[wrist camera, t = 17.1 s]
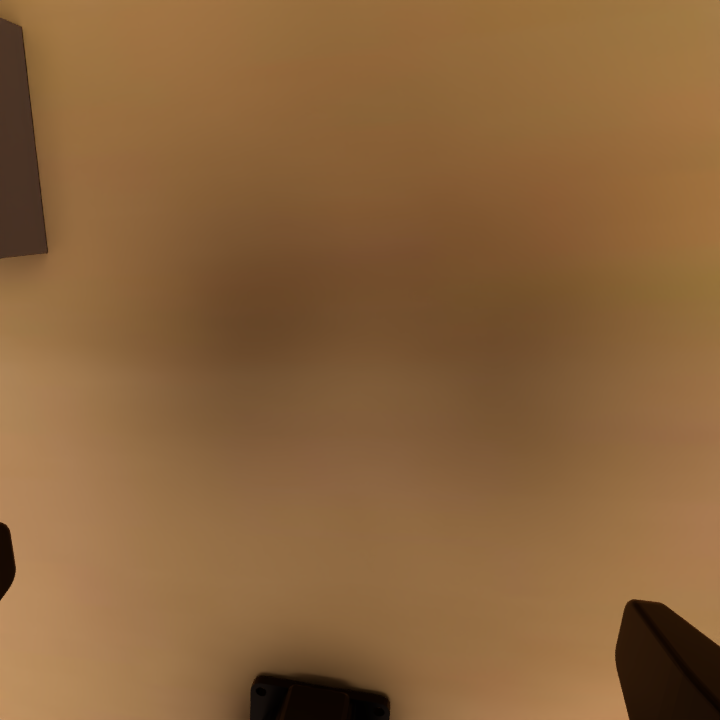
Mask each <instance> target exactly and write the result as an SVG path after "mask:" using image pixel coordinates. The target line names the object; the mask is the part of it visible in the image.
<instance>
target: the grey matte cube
mask: <svg viewBox="0 0 720 720" xmlns="http://www.w3.org/2000/svg"><path fill="white" fill-rule="evenodd" d="M41 253H47V245H46V237H45V228H44V219H43V211H42V202H41V193H40V185H39V176H38V167H37V159H36V150H35V141H34V133H33V124H32V116H31V107H30V98H29V90H28V81H27V72H26V64H25V55H24V46H23V38H22V29H21V27H20V26H18V25H16V24H14V23H11V22H9V21H7V20H5V19H2V18H0V258H6V257H15V256H24V255H33V254H41Z"/></svg>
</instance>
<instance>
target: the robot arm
mask: <svg viewBox="0 0 720 720" xmlns="http://www.w3.org/2000/svg"><path fill="white" fill-rule="evenodd" d="M15 572H16V566H15V559H14V553H13V546H12V540H11V533H10V530H9V528H8V527H7V525H6V524H4V523H1V522H0V600H1V599H2V598H3V596H4V595H5V593H6V592H7V591H8V589H9V588H10V586H11V584H12V582H13V580H14V577H15ZM615 661H616V668H617V672H618V676H619V680H620V684H621V688H622V692H623V696H624V700H625V704H626V708H627V712H628V716H629V720H720V646H718V645H717V644H716V643H715V642H713V641H712V640H711V639H709V638H708V637H707V636H705V635H704V634H703V633H701V632H700V631H699V630H697V629H696V628H695V627H693V626H692V625H691V624H689V623H688V622H687V621H686V620H684V619H683V618H682V617H680V616H679V615H678V614H676V613H675V612H674V611H672V610H671V609H670V608H668V607H667V606H666V605H664V604H662V603H659V602H653V601H644V600H636V599H632V600H630V601H628V602H627V604H626V606H625V609H624V613H623V617H622V622H621V626H620V631H619V635H618V640H617V644H616V650H615ZM261 687H262V688H261ZM263 688H264V689H263ZM389 717H390V702H389V700H388V699H387V698H385V697H383V696H380V695H374V694H368V693H362V692H356V691H350V690H344V689H338V688H332V687H326V686H320V685H314V684H309V683H303V682H297V681H291V680H285V679H279V678H273V677H267V676H259V677H256V678H255V679H254V682H253V684H252V687H251V707H250V720H389Z"/></svg>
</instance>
